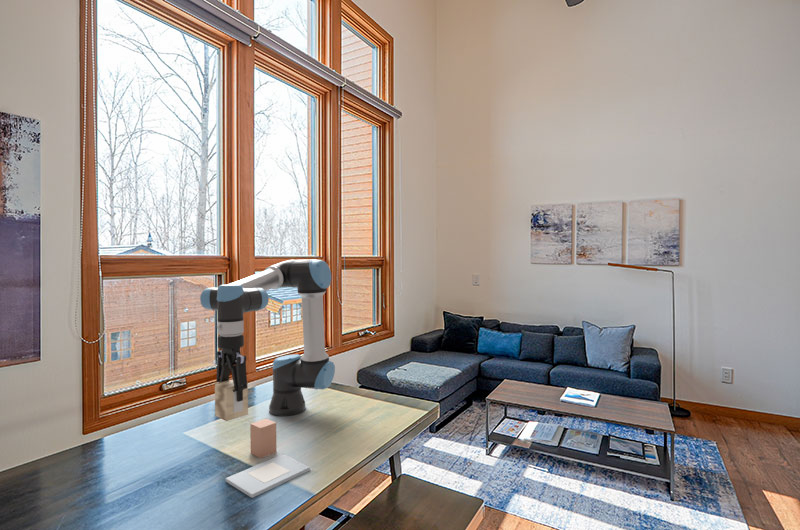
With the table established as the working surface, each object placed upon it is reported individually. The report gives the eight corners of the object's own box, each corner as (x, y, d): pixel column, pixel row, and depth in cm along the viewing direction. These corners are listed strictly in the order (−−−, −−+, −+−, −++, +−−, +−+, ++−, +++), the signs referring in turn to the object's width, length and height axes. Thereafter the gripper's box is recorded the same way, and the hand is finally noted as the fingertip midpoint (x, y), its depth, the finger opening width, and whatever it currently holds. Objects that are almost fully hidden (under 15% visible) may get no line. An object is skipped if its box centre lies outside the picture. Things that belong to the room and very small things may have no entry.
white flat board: (225, 481, 129) (225, 477, 129) (282, 457, 144) (282, 453, 144) (252, 498, 120) (252, 494, 120) (310, 470, 135) (310, 466, 135)
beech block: (215, 415, 135) (214, 383, 135) (236, 409, 140) (236, 378, 140) (226, 421, 131) (226, 387, 130) (248, 414, 136) (247, 382, 136)
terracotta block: (250, 453, 147) (250, 423, 147) (266, 447, 152) (265, 418, 152) (260, 458, 144) (260, 428, 143) (276, 451, 148) (276, 422, 148)
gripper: (203, 332, 139) (204, 404, 139) (235, 340, 126) (237, 419, 126) (226, 329, 144) (227, 398, 145) (259, 336, 131) (260, 412, 132)
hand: (231, 408), depth 135 cm, fingers closed on beech block, 7 cm apart
